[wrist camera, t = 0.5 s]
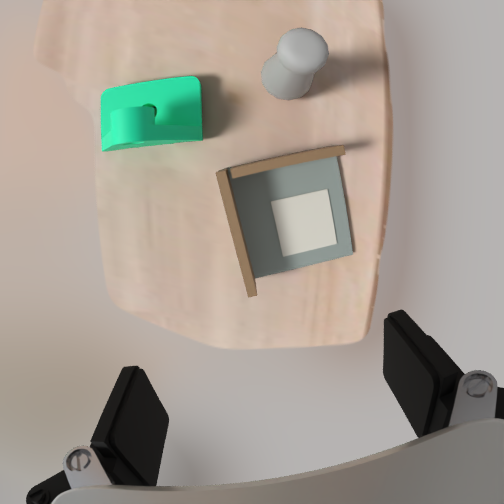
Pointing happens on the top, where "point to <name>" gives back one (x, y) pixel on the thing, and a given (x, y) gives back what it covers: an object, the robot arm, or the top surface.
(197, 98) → the camera mount
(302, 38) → the salt shaker
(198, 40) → the top surface
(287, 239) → the grey and wooden tray
